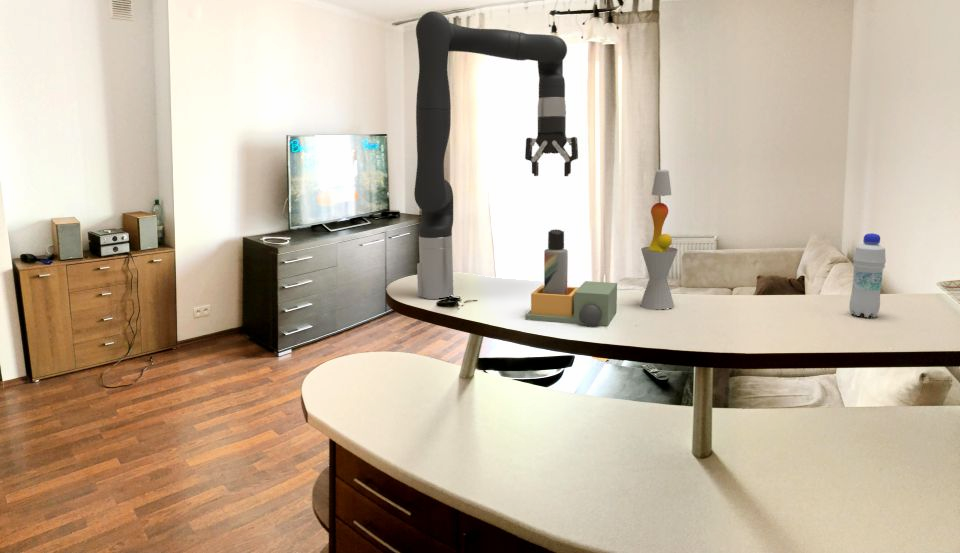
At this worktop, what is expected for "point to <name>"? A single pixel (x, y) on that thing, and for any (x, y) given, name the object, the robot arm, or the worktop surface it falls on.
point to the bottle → (867, 276)
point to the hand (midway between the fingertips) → (551, 176)
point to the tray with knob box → (576, 304)
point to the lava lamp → (659, 251)
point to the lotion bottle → (555, 264)
